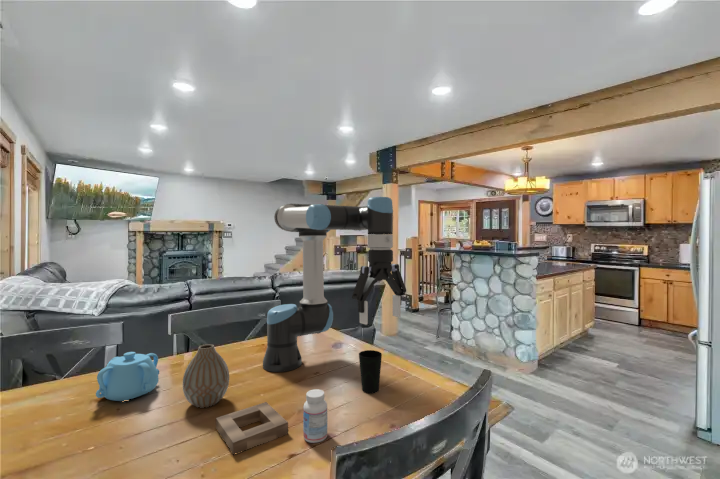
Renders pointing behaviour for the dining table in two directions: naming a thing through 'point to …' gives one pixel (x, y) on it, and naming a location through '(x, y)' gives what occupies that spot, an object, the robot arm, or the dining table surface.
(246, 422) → the socket block
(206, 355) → the vase
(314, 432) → the pill bottle
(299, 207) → the robot arm
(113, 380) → the decorative pot
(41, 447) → the dining table surface
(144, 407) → the dining table surface
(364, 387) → the cup
